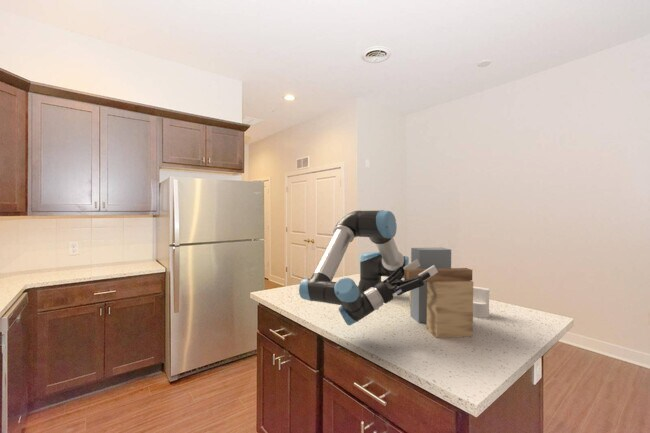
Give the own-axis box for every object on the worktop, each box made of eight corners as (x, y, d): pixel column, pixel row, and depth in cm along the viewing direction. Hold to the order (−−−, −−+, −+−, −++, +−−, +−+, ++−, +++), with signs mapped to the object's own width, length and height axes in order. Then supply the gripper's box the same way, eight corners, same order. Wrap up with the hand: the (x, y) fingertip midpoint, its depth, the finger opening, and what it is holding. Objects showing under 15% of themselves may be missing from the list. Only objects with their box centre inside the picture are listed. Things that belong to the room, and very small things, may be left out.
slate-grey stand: (410, 316, 132) (411, 247, 132) (440, 315, 134) (441, 247, 134) (418, 322, 124) (419, 250, 124) (450, 321, 126) (451, 249, 126)
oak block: (426, 329, 117) (427, 277, 117) (460, 327, 119) (460, 277, 119) (436, 337, 110) (437, 282, 109) (472, 336, 111) (473, 281, 111)
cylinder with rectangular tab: (463, 314, 135) (463, 287, 135) (470, 309, 142) (470, 284, 142) (485, 319, 129) (486, 291, 129) (491, 314, 136) (491, 287, 136)
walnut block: (404, 279, 114) (404, 269, 114) (465, 278, 117) (466, 267, 117) (408, 282, 110) (408, 271, 110) (472, 280, 113) (472, 269, 113)
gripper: (373, 294, 123) (416, 267, 126) (396, 315, 99) (449, 281, 101) (364, 279, 123) (408, 252, 125) (385, 295, 98) (439, 262, 100)
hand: (426, 265), depth 113 cm, fingers open, 13 cm apart
